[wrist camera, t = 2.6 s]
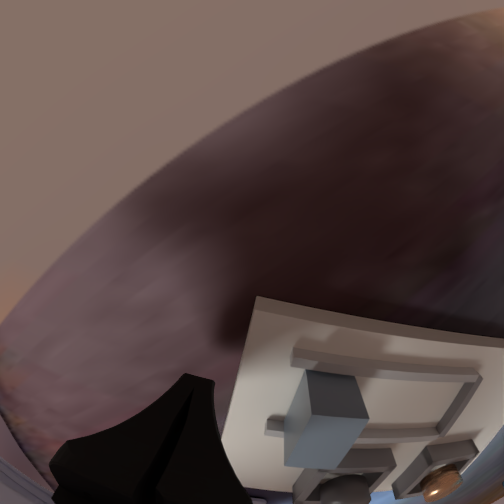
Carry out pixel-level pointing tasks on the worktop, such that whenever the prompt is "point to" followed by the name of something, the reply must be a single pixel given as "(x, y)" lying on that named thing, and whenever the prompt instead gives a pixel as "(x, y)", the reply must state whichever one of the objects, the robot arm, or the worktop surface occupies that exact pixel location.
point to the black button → (345, 490)
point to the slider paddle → (323, 420)
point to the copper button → (441, 482)
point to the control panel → (364, 398)
